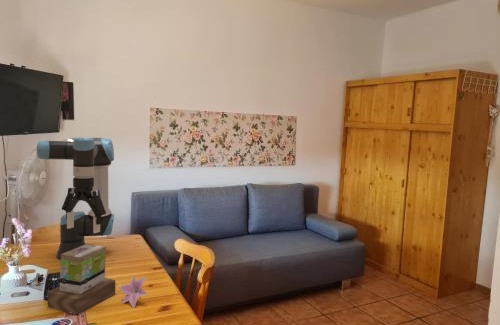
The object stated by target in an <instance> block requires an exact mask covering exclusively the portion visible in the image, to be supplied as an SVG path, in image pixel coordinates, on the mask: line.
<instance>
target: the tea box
mask: <svg viewBox="0 0 500 325" xmlns="http://www.w3.org/2000/svg"><path fill="white" fill-rule="evenodd" d="M106 248H107V247H106V246H103V245H102V246H101V245H94V244H86V243H85V245H83V246H80V247H78V248H75V249H73V250H70V251H68V252H66V253H63V254H61V260H60V264H59V265H60V271H59V276H60V277H59V286H60V291H64V292H69V293H75V294H82V293H83V292H85V291H87V290H88V289H90V288H92V287H93V286H95V285H97V284H99V283H100V282H102V281H104V280H105V278H106Z"/></svg>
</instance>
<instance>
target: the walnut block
mask: <svg viewBox="0 0 500 325" xmlns="http://www.w3.org/2000/svg"><path fill="white" fill-rule="evenodd" d="M114 295H116V280H115V279H112V278H108V277H105V280H104V281H102V282H100V283H99V284H97V285H95V286H93V287H92V288H90V289H88V290H87V291H85V292H83V293H82V294H75V293H69V292H64V291H60V285H59V286H57V287H55V288H53V289H51V290H49V291H47V308H50V309H54V310H58V311H61V312H65V313H68V312H72V313H75V314H78V315H80V314H82V313H84V312H86V311H88V310H89V309H91V308H93V307H94V306H96V305H98V304H100V303H102V302H103V301H106V300H107V299H109V298H111V297H112V296H114ZM81 312H82V313H81ZM72 313H71V314H72ZM79 313H80V314H79ZM75 314H74V315H75Z"/></svg>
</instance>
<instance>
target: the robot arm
mask: <svg viewBox="0 0 500 325" xmlns="http://www.w3.org/2000/svg"><path fill="white" fill-rule="evenodd" d="M114 150H115V149H114V145H113V141H112V139H110V138H104V137H73V138H66V139H63V140H39V141H38V142H37V145H36V156H37V158H38V159H40V160H46V161H47V160H66V161H68V160H69V161H70V160H72V161H73V162H72V163H73V164H72V168H73V169H72V175H73V177H72V186H73V187H69V188H67V194H66V197H65V198H64V201H63V204H62V207H61V210H62V211H64V212H65V214H63V215H62V216H61V217H60V222H59V227H60V229H59V232H60V239H59V243H60V244H59V246H58V250H57V251H56V258H57V259H58V260H60V261H61V254H63V253H66V252H68V251H70V250H73V249H75V248H78V247H80V246H83V245H85V244H86V242H85V237H103V236H110V235H111V234H112V232H113V227H114V221H115V214H114V213H112V210H111V209H110V208H109V167H110V166H111V165H112V162H113V161H114V160H115V152H114ZM80 201H83V202H85V203H87V204H88V206H89V207H90V210H89V211H88V214H86V213H85V212H84V211H74V208H76V206H77V205H78V203H79V202H80Z"/></svg>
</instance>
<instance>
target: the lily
mask: <svg viewBox="0 0 500 325" xmlns="http://www.w3.org/2000/svg"><path fill="white" fill-rule="evenodd" d="M146 280H147V279H146V276H145V277H144V276H143V277H141V278H139V279H136V278H135V276H133V275H132V277H131V279H130V282H129V283H128V284H123V285H121V286H119V290H120V292H122V293H123V294H124V297H123V300H122V302H121V303H122V304H125V303H126V302H129V304H130V306H131V307H132V308H133V309H135V307H136V305H137V301H138V298H140V299H141V298H142V297H143V296H146V295H147V292H146V290H144V289H143V288H142V287H143V285H144V284H145V281H146Z"/></svg>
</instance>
